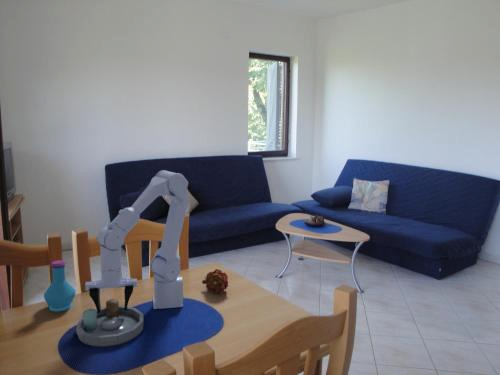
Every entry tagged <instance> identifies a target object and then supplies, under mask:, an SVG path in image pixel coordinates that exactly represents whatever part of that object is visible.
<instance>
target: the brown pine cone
mask: <svg viewBox="0 0 500 375" xmlns="http://www.w3.org/2000/svg"><path fill="white" fill-rule="evenodd" d="M228 278H229V277H228V275H227V273H226V272H223V271H222V270H221V269H217V268H216V269H214V270H213V271H209V272H208V273H206V275H205V276H204V279H202V280H201V281H202V282H201V283H202V285H205V287H206V290H208V291H209V292H212V293H214V294H218V293H219V294H221V293H223V292H224V291H225V290H226V289H227V288H228V287H229V281H228V280H229V279H228Z"/></svg>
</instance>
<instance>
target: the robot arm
mask: <svg viewBox="0 0 500 375" xmlns="http://www.w3.org/2000/svg"><path fill="white" fill-rule="evenodd" d="M188 186H189V181H188V180H187V178H186V177H185V176H184V175H183V174H182V173H179V172H177V173H176V172H173V171H168V170H165V169H162V170H160V171H158V172H157V173H156V174H155V176H153V177H152V178H151V181H150V182H149V184H148V185H147V187H146V188H145V189H144V190H143V191H142V192H141V194H140V195H139V196H138V198H137V199H136V200H135V202H133V204H132V205H131V206H129V207H124V208H123V209H119V211H118V214H117V215H116V217H115V218H114V219H113V220H112V221H111V222H108V224H107V226H105V227H103V228H101V229H100V230H99V232H98V233H97V234H98V235H97V236H96V237H95V238H96V242H97V243H98V244H99V245H100V272H101V273H100V275H101V276H100V278H101V279H98V280H93V281H86V282H85V285H84V286H85V287H84V289H85V291H89V293H88V294H89V297H90V298H91V300H92V302H93V304H94V305H95V308H96V310H97V313H100V311H101V308H102V305H101V295H100V294H101V290H102V289H103V290H104V289H118V288H124V290H123V291H124V306H125V307H124V310H125V311H127V307H128V305H129V301H130V299H131V296H132V294H133V291H134V288H138V279H137V278H125V277H123V276H122V246H124V243H125V239H126V236H127V235H128V234H129V232H131V230H132V229H133V228H134V227H135V226H136V225H137V224H138V223H139V221H140V219H141V218H140V216H141V213H143V212H144V210H145V209H147V208H148V207H149V206H150V205H151V204H152V203H153V202H154V201H155V200H156V199H157V198H158V197H162V196H167V198H168V199H169V200H170V205H169V209H168V213H167V218H166V222H165V226H164V231H163V236H162V239H161V245H160V248H157V250H156V251H155V253H154V256H153V258H152V259H151V260H150V263H149V268H150V271H151V272H153V287H154V288H153V290H154V291H153V298H152V307H153V310H160V309H172V308H182V307H183V306H184V283H183V282H184V281H183V276H180V273H181V271H182V270H181V256H180V255H179V252H178V250H179V249H178V248H179V244H180V239H181V235H182V230H183V226H184V222H185V217H186V214H187V208H188V205H189V202H190V201H189V200H190V195H189V191H188Z"/></svg>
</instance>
